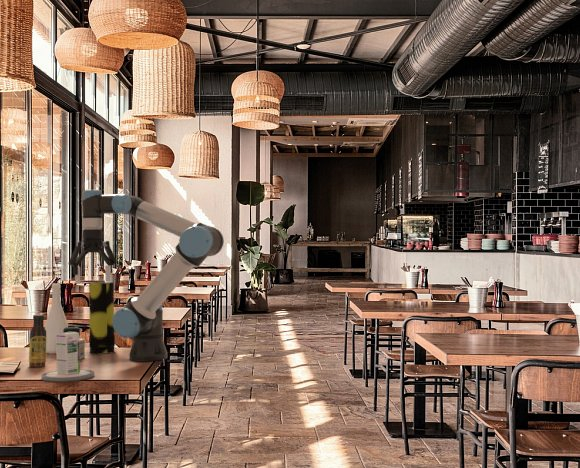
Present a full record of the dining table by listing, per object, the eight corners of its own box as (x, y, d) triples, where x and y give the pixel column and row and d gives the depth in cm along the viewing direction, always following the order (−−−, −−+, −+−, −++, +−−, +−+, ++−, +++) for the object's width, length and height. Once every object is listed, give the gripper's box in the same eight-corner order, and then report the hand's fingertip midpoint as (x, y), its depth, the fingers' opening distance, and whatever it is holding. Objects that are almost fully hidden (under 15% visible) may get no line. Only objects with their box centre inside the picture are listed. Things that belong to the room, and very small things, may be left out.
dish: (99, 372, 279) (99, 368, 279) (86, 381, 261) (86, 377, 261) (50, 373, 279) (50, 369, 279) (34, 382, 261) (34, 378, 261)
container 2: (117, 350, 337) (116, 282, 337) (112, 353, 326) (111, 283, 326) (92, 350, 336) (91, 282, 337) (86, 354, 326) (86, 283, 326)
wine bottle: (71, 352, 331) (70, 283, 331) (49, 354, 326) (48, 284, 326) (64, 350, 339) (63, 282, 339) (42, 352, 333) (41, 283, 334)
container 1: (76, 360, 309) (75, 328, 309) (58, 360, 310) (58, 328, 310) (85, 357, 316) (84, 326, 316) (67, 357, 318) (67, 326, 318)
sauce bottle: (30, 368, 291) (29, 316, 291) (27, 365, 296) (27, 314, 297) (48, 366, 294) (47, 315, 294) (45, 364, 299) (44, 313, 300)
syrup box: (67, 375, 266) (66, 333, 266) (56, 373, 270) (55, 332, 270) (80, 373, 271) (79, 332, 271) (69, 371, 274) (68, 331, 274)
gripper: (114, 229, 314) (115, 280, 314) (58, 229, 296) (59, 283, 296) (124, 228, 309) (125, 281, 309) (68, 228, 291) (69, 284, 291)
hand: (93, 282), depth 302 cm, fingers open, 13 cm apart
